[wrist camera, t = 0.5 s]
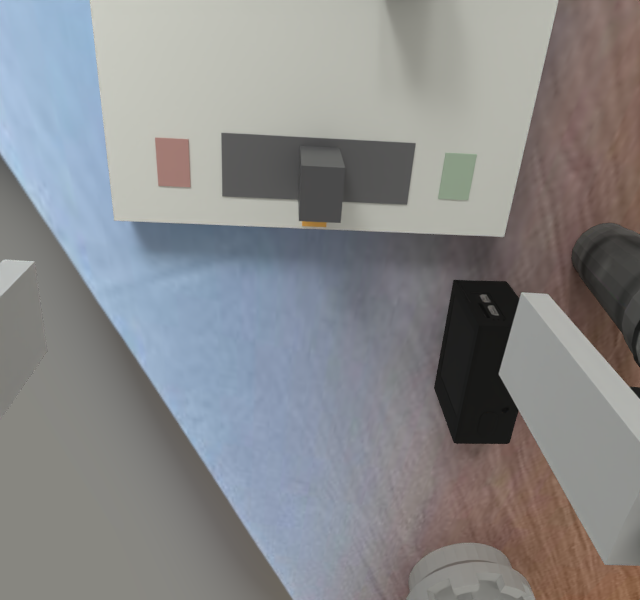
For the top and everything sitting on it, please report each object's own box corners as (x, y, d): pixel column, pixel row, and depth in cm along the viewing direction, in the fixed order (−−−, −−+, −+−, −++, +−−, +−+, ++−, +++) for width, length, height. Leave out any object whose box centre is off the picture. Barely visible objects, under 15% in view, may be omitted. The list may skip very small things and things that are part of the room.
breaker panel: (89, -155, 31) (70, -168, 28) (562, -114, 33) (587, -123, 30) (125, 205, 40) (113, 221, 38) (490, 221, 42) (504, 237, 40)
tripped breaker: (299, 145, 35) (301, 165, 32) (339, 147, 36) (345, 167, 32) (297, 196, 37) (298, 221, 33) (335, 198, 37) (340, 222, 33)
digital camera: (496, 389, 50) (525, 446, 44) (433, 388, 49) (454, 445, 43) (522, 281, 45) (559, 328, 39) (453, 279, 45) (479, 326, 38)
